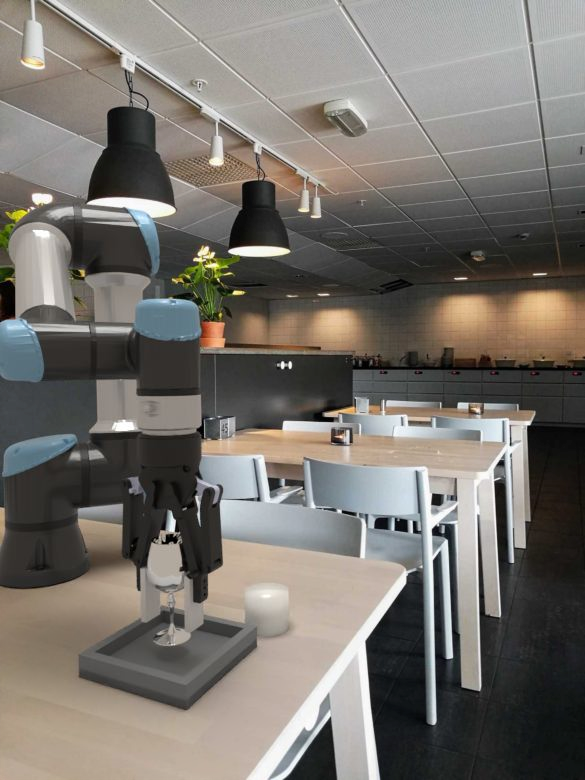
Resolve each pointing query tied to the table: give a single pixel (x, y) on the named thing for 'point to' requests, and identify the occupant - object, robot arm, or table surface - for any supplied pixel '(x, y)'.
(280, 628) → the white pillar candle
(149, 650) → the tray
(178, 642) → the wineglass
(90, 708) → the table surface
